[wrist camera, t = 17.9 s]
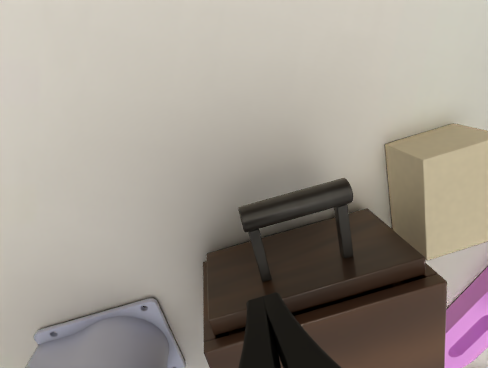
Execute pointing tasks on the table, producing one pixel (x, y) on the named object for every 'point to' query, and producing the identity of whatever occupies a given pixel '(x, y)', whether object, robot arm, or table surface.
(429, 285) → the cabinet
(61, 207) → the table surface
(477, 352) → the bracket
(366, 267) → the drawer
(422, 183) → the beige rectangular block
